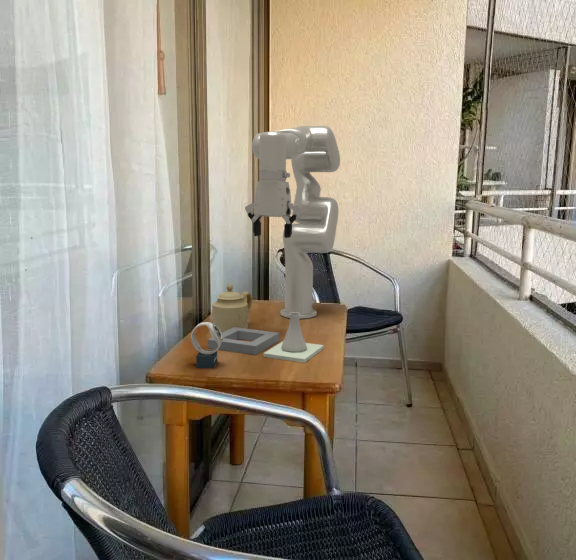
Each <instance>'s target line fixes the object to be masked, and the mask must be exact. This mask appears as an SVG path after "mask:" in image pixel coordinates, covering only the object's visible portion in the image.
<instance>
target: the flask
mask: <svg viewBox="0 0 576 560" xmlns="http://www.w3.org/2000/svg"><path fill="white" fill-rule="evenodd" d="M289 316H290V318H289V321H288V322H289V323H288V327H287V330H286V333H285V337H284V338H283V340H282V341H283V344H282V347H281V348H282V350H284V351H290V352H302V351H304V350H306V349H307V346H306V343H307V342H306V341H305V337H304V335H303V330H302V328H301V324H300V323H301V322H300V319H299V316H300V313H297V312H291V313H289Z"/></svg>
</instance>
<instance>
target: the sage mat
mask: <svg viewBox="0 0 576 560" xmlns="http://www.w3.org/2000/svg"><path fill="white" fill-rule="evenodd" d="M283 341H284V340H282V341H281V342H279V343H278V344H276V345H274V346H272V347H270V349H268V350H266V351H264V352H263V353H262V355H263V358H268V359H269V358H270V359H276V360H281V361H282V360H283V361H291V362H295V363H296V362H297V363H301V364H305V363H306V362H308V361H309V360H311V359H312V358H313V357H314V356H316V355H318V354H319V353H320V352H321V351H322V350H324V348H325V347H324V344H317V343H310V342H305V343H306V346H307V349H306V350H304V351H302V352H290V351H284V350H282V348H281V347H282V344H283Z"/></svg>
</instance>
